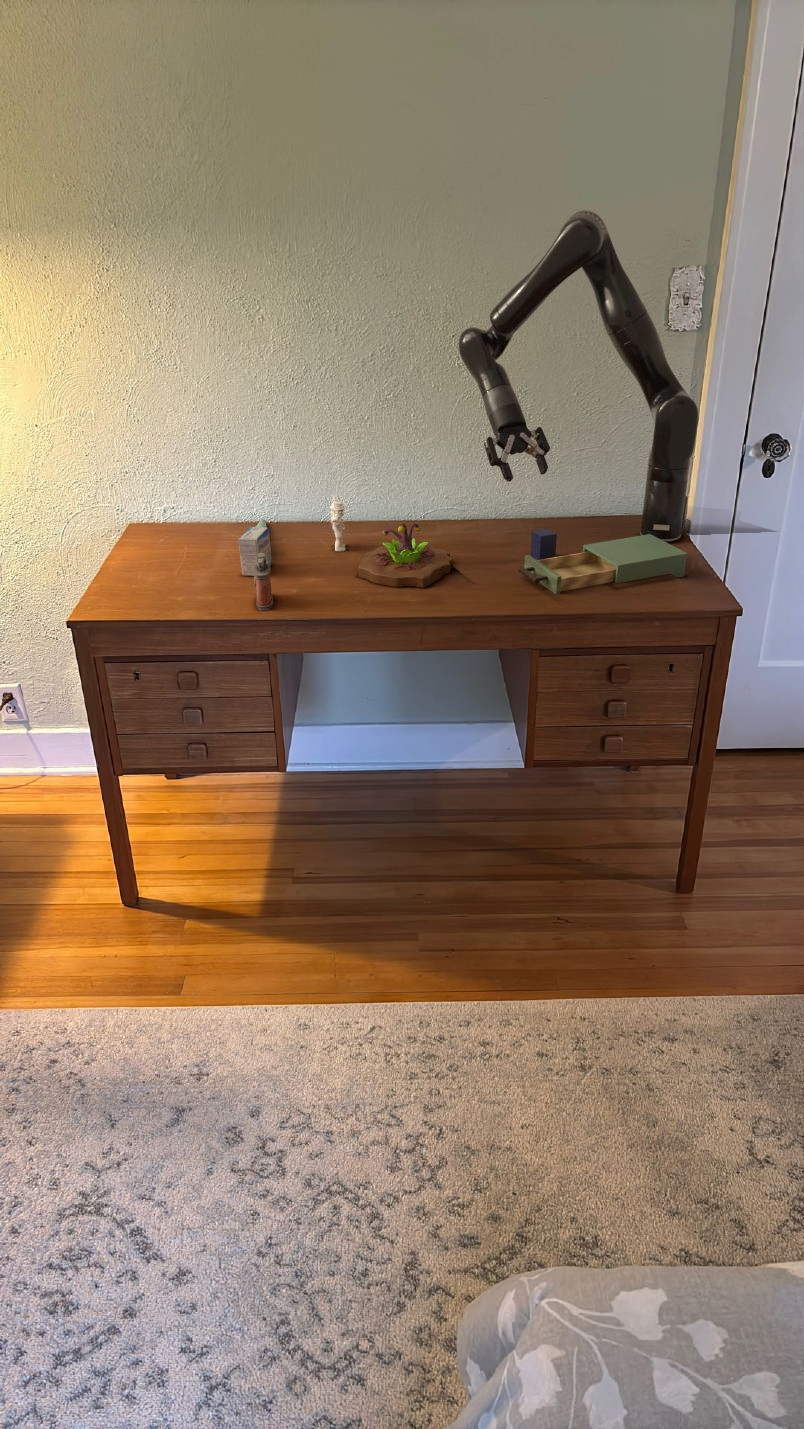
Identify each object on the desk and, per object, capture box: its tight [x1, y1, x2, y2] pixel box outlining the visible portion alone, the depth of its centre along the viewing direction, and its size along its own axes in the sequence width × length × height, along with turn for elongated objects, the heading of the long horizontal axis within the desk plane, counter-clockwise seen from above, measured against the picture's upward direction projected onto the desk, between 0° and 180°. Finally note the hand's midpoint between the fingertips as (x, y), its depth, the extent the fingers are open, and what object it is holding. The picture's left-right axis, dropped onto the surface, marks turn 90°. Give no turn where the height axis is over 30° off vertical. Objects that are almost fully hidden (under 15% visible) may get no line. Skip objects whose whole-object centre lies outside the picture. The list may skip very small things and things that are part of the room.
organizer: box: [582, 534, 688, 584], centre depth 211 cm, size 17×14×5 cm
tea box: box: [530, 528, 558, 560], centre depth 215 cm, size 4×4×7 cm
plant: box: [357, 523, 453, 589], centre depth 212 cm, size 20×20×11 cm
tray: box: [517, 551, 616, 595], centre depth 206 cm, size 21×14×4 cm, turn 112°
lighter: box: [253, 553, 274, 611], centre depth 198 cm, size 8×3×10 cm, turn 5°
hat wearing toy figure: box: [329, 495, 347, 552], centre depth 225 cm, size 9×4×12 cm, turn 1°
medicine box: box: [238, 526, 273, 577], centre depth 214 cm, size 8×4×9 cm, turn 168°
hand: (527, 476), depth 217 cm, fingers open, 8 cm apart
